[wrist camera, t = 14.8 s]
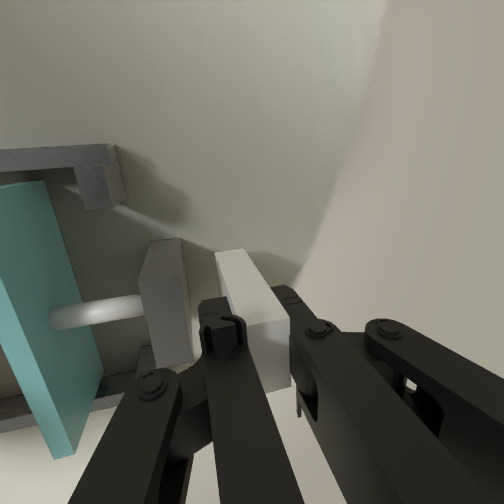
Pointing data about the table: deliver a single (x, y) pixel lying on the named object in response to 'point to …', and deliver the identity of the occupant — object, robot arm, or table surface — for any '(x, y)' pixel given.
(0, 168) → the grey rail frame
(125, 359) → the table surface
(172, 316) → the pusher plate
